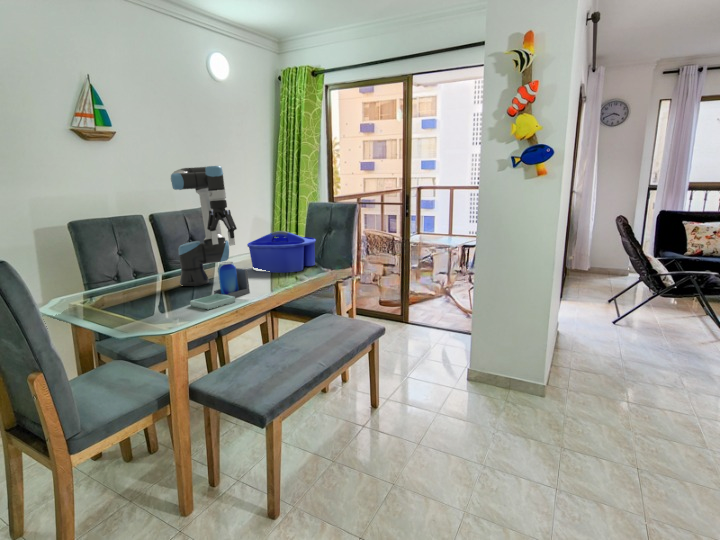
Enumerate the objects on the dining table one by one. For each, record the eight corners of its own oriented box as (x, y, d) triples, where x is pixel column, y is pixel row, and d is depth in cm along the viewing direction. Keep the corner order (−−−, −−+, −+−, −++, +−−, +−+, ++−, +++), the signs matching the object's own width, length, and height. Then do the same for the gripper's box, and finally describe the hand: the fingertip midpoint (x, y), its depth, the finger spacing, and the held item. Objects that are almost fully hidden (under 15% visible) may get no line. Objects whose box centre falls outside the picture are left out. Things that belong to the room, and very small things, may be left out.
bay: (214, 295, 212) (211, 271, 209) (233, 290, 220) (230, 267, 218) (230, 298, 203) (227, 273, 201) (249, 293, 212) (246, 269, 210)
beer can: (223, 298, 205) (218, 265, 202) (219, 294, 213) (215, 263, 210) (240, 295, 209) (236, 262, 206) (237, 291, 216) (233, 260, 213)
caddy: (301, 274, 250) (297, 233, 245) (239, 272, 268) (234, 234, 263) (326, 263, 278) (323, 227, 273) (269, 262, 296) (265, 228, 291)
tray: (190, 306, 195) (190, 300, 194) (217, 298, 206) (217, 293, 205) (208, 310, 186) (207, 304, 186) (235, 302, 197) (234, 296, 196)
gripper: (196, 201, 207) (202, 245, 211) (226, 199, 191) (232, 246, 195) (209, 200, 212) (215, 242, 216) (240, 198, 197) (246, 244, 201)
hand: (223, 244), depth 206 cm, fingers open, 13 cm apart
